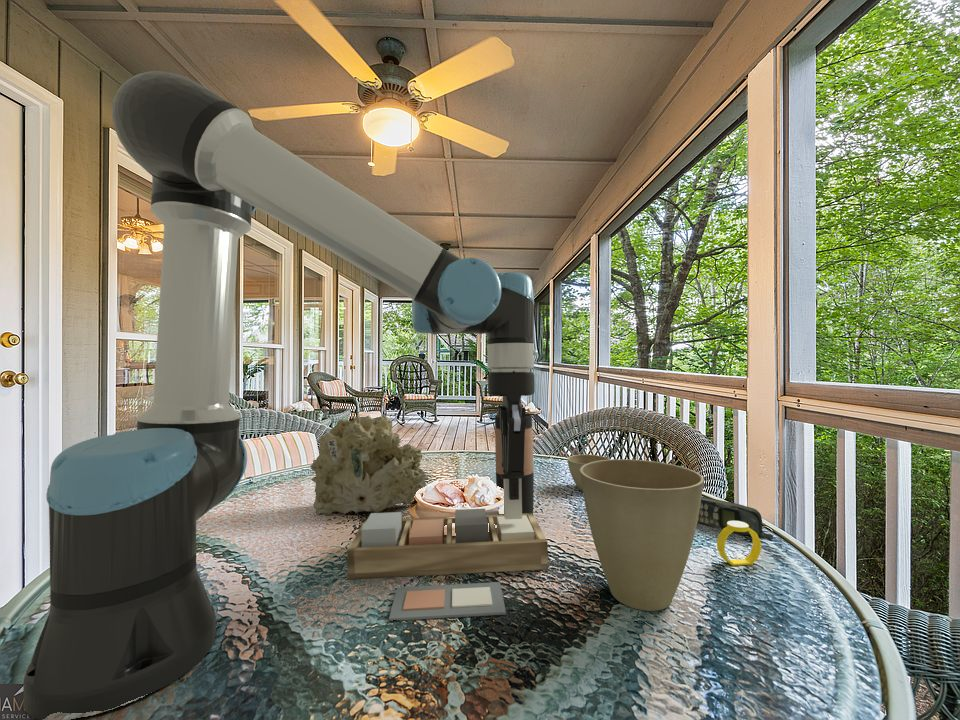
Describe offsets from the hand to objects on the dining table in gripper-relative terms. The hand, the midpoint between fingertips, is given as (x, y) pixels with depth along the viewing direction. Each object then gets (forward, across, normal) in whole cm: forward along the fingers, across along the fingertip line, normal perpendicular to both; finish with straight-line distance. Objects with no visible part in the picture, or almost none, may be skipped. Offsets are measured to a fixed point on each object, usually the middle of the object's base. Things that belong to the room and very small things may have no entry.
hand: (513, 517), depth 67 cm
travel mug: (+6, +17, -3) cm, 18 cm away
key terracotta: (+4, 0, +14) cm, 14 cm away
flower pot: (+6, +32, -23) cm, 40 cm away
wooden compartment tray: (+6, 0, +10) cm, 12 cm away
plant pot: (+6, -14, -15) cm, 21 cm away
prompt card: (+6, -13, +10) cm, 17 cm away
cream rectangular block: (+4, 0, 0) cm, 4 cm away
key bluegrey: (+3, 0, +21) cm, 21 cm away
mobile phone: (+6, +6, -39) cm, 40 cm away
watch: (+6, -7, -33) cm, 34 cm away
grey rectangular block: (+3, 0, +7) cm, 7 cm away
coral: (+6, +23, +27) cm, 36 cm away
